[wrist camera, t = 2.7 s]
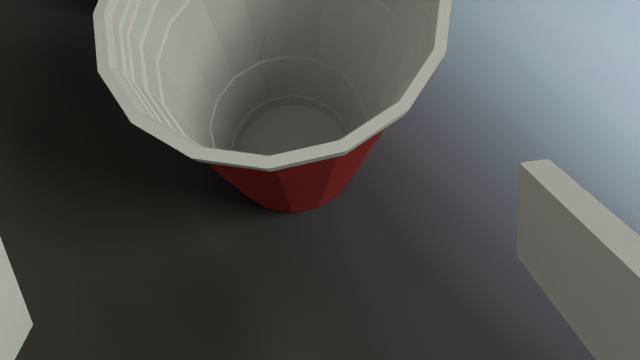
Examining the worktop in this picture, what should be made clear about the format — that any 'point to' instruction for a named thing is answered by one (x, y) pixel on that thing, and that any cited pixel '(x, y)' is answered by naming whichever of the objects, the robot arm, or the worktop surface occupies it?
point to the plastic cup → (270, 83)
